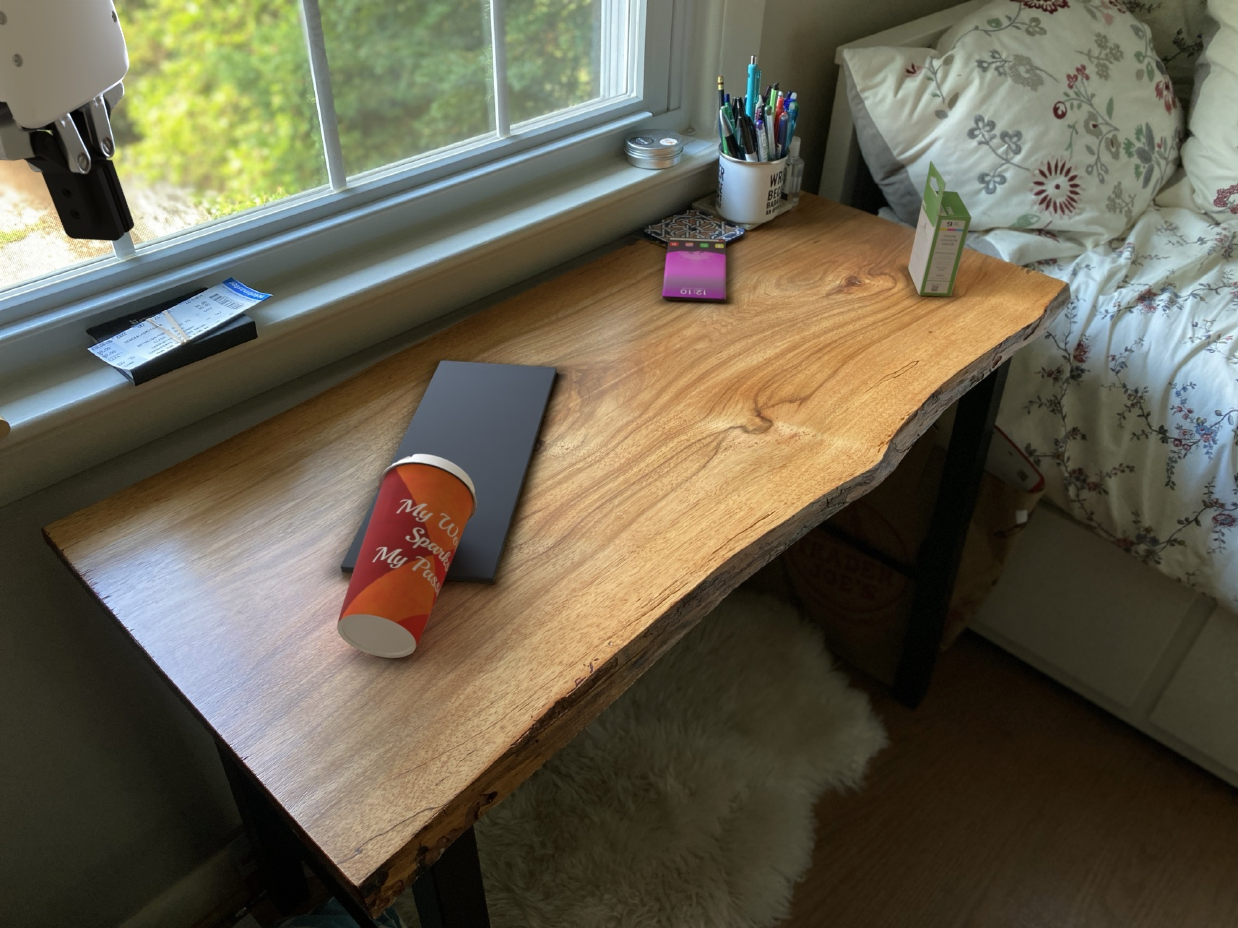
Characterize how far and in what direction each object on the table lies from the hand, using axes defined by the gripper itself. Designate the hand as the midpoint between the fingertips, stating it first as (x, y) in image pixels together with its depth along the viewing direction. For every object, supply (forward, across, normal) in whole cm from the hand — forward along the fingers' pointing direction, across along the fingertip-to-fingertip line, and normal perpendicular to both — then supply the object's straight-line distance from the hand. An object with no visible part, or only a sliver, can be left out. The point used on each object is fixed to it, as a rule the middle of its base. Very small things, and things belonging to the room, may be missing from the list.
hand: (101, 233), depth 53 cm
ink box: (+29, -57, +60) cm, 87 cm away
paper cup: (+26, +6, +13) cm, 30 cm away
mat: (+29, -18, +13) cm, 37 cm away
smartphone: (+29, -56, +32) cm, 71 cm away
